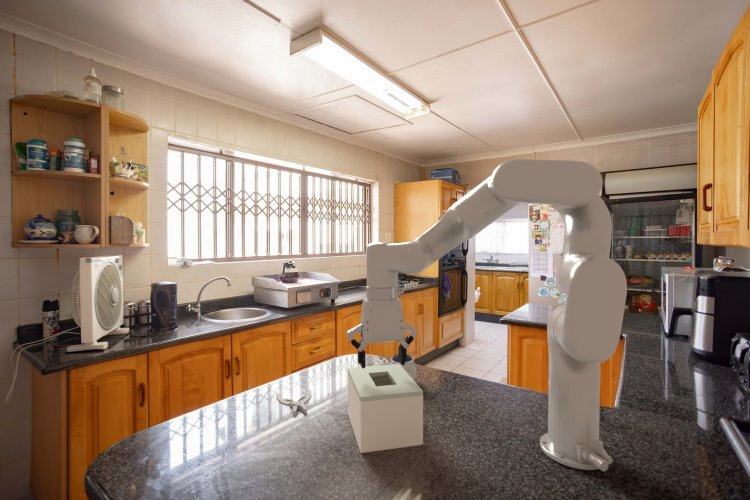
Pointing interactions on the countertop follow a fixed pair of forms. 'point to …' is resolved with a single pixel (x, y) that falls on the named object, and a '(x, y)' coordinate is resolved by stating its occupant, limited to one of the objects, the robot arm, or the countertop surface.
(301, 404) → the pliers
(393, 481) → the countertop surface
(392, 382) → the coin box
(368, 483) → the countertop surface
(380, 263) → the robot arm
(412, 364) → the toy
